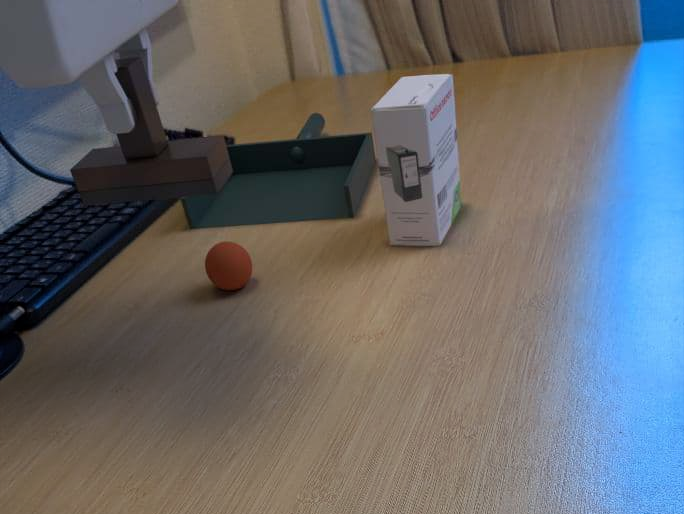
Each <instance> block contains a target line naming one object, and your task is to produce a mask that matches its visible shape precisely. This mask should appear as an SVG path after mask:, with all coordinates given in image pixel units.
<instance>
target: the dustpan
mask: <svg viewBox="0 0 684 514" xmlns="http://www.w3.org/2000/svg"><path fill="white" fill-rule="evenodd" d="M325 126H326V120H325V117H324V115H322V114H321V113H319V112H314V113H313V112H312V114H310V115H309V117H308V119H307V120H306V122H305V123H304V125H303V126H302V127H301V130H300V131H299V133H298V135H297V136H296V138H293V139H292V138H291V139H281V140H270V141H259V142H247V143H237V144H226V147H227V151H228V154H229V158H230V162H231V166H232V169H233V173H232V174H231V175H230V177H229V178H228V180H227V181H226V182H225V184H224V185H223V187H222V188H221V189H220V191H219V192H218V194H210V195H199V196H188V197H179V198H180V203H181V205H182V208H183V211H184V215H185V218H186V222H187V225H188V229H189V230H195V229H196V230H197V229H208V228H209V229H210V228H224V227H235V226H236V227H238V226H251V225H253V226H254V225H267V224H283V223H294V222H295V223H296V222H309V221H310V222H311V221H325V220H339V219H353V218H355V216H356V214H357V210H358V208H359V206H360V203H361V201H362V198H363V196H364V193H365V191H366V188H367V187H368V183H369V181H370V179H371V176H372V173H373V171H374V168H375V166H376V162H377V158H376V151H375V145H374V138H373V137H374V136H373V132H362V133H361V132H359V133H349V134H338V135H327V136H321V133H322V132H323V130H324V128H325Z"/></svg>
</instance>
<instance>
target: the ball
mask: <svg viewBox="0 0 684 514" xmlns="http://www.w3.org/2000/svg"><path fill="white" fill-rule="evenodd" d="M204 269H205V273H206V275H207V277H208V279H209V280H210V282H211V283H212V284H213V285H215V286H216V287H217V288H219V289H221V290H224V291H236V290H239V289H241V288H243V287H245V286H246V285H247V283H248V282H249V281H250V279H251V277H252V275H253V261H252V257H251V256H250V254H249V252H248V251H247V250H246V249H245V248H244V247H243V246H242V245H240V244H239V243H237V242H234V241H220V242H218V243H215V244H214V245H213V246H211V248H209V250H208V252H207V253H206V256H205V260H204Z"/></svg>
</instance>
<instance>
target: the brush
mask: <svg viewBox="0 0 684 514" xmlns="http://www.w3.org/2000/svg"><path fill="white" fill-rule="evenodd" d="M114 61H115V64H116V67H117V72H116V73H114V74H115V76H116V78H117V80H118V82H119V84H120V85H121V87H122V89H123V91H124V93H125V95H126V96H132V97H133V100H134V103H135V106H136V111H137V113H138V116H139V123H138V124H137V125H136V126H135V127H134V128H133V129H132V130H131V131H130V132H128V133H119V134H115V135H116V137H117V141H118V143H119V145H118V146H117V145H116V146H107V147H98V148H92V149H90V150H89V151H88V153H87V154H85V155H84V156H83V157H82V158H81V159H80V160H79V161H78V162H76V164H74V165H73V166H72V167H71V168H70V169H69V171H70V175H71V176H72V180H73V181H74V184H75V186H76V189H77V191H78V194H79V196H80V199H81V201H82V205H83V206H84V207H86V206H99V205H109V204H120V203H133V202H142V201H155V200H163V199H175V198H176V199H177V198H181V197H188V196H199V195H210V194H218V192H219V191H220V189H221V188H222V187H223V185H224V184H225V182H226V181H227V180H228V178H229V177H230V175H231V174H232V173H233V169H232V166H231V162H230V158H229V154H228V151H227V147H226V145H227V144H226V140H225V137H224V135H223V134H222V135H215V136H214V135H213V136H203V137H195V138H186V139H185V138H184V139H175V140H168V139H167V135H166V132H165V129H164V126H163V122H162V120H161V117H160V113H159V110H158V105H157V106H156V103H155V100H154V97H153V94H152V91H151V87H150V84H149V81H148V78H147V75H146V72H145V68H144V65H143V62H142V59H141V57H133V58H125V59H120V58H119V59H114ZM232 175H233V174H232Z"/></svg>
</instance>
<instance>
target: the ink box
mask: <svg viewBox="0 0 684 514" xmlns="http://www.w3.org/2000/svg"><path fill="white" fill-rule="evenodd" d="M370 114H371V119H372V127H373V128H372V129H373V135H374V136H373V137H374V143H375V149H376V159H377V164H378V170H379V176H380V177H379V178H380V184H381V193H382V200H383V206H384V207H383V208H384V213H385V220H386V221H385V222H386V229H387V234H388V241H389V246H411V247H413V246H415V247H416V246H417V247H437V246H440V245H441V244H442V242H443V240H444V239H445V238H446V236H447V233H448V232H449V230H450V228H451V227H452V225H453V223H454V221H455V219H456V217H457V215H459V212H460V211H461V209H462V195H461V193H462V192H461V180H460V179H461V178H460V163H459V149H458V135H457V133H458V132H457V118H456V104H455V89H454V76H453V74H450V73H440V74H439V73H438V74H423V75H409V76H408V75H407V76H401V77H400V78H399V79H398V80H397V81H396V82H395V83H394V85H392V87H390V89H389V90H388V91H387V92H386V93H385V94H384V95H383V96H382V97H381V98H380V99H379V100H378V101H377V103H375V104H374V105H373V106H372V107H371V109H370Z"/></svg>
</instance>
